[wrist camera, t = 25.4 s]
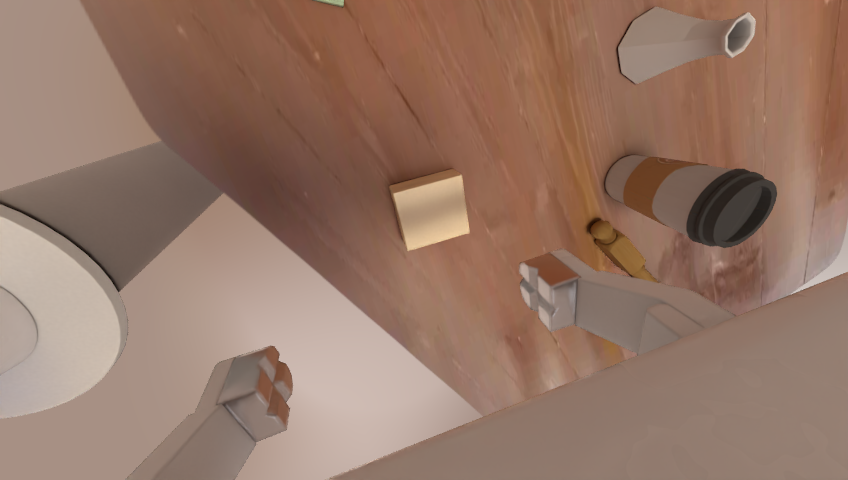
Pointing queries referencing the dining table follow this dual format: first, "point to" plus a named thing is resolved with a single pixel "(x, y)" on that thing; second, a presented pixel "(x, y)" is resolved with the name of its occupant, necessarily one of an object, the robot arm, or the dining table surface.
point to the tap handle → (620, 250)
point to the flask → (679, 41)
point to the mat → (333, 2)
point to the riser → (430, 208)
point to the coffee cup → (694, 197)
